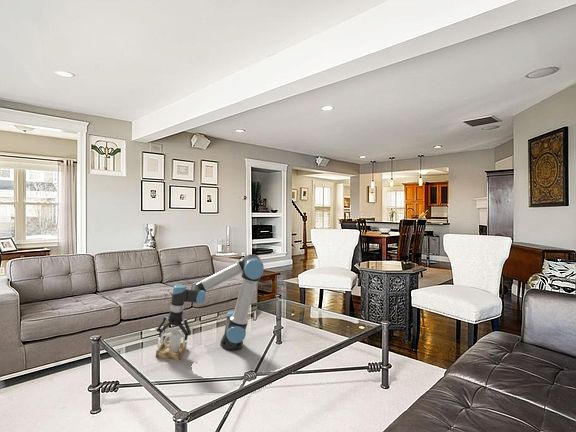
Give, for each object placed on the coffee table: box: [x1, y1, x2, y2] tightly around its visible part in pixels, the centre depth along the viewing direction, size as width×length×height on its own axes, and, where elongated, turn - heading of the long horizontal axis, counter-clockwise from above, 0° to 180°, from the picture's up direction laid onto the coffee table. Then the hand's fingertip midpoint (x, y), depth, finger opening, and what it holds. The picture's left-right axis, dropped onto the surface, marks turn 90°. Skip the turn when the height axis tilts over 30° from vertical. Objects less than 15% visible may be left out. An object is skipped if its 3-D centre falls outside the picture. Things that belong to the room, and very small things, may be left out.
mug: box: [163, 329, 183, 353], centre depth 211 cm, size 10×7×12 cm, turn 114°
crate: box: [155, 339, 188, 361], centre depth 212 cm, size 14×14×4 cm
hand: (172, 343), depth 212 cm, fingers open, 13 cm apart
